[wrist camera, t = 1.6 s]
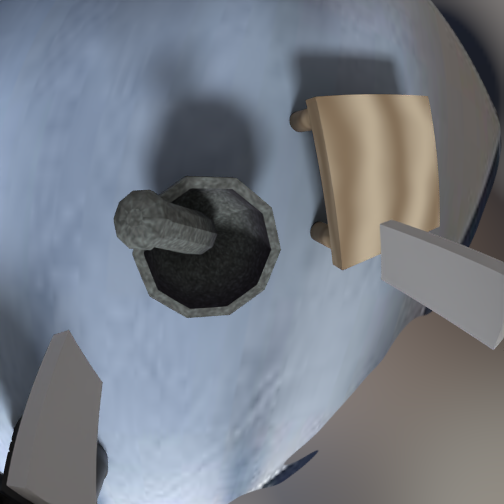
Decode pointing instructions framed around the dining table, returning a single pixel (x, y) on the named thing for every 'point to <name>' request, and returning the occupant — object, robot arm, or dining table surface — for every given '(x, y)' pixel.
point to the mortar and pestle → (200, 243)
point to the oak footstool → (371, 168)
